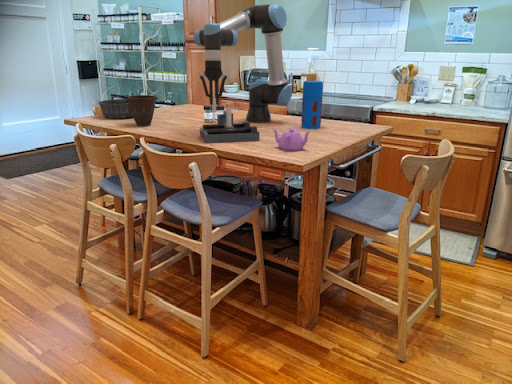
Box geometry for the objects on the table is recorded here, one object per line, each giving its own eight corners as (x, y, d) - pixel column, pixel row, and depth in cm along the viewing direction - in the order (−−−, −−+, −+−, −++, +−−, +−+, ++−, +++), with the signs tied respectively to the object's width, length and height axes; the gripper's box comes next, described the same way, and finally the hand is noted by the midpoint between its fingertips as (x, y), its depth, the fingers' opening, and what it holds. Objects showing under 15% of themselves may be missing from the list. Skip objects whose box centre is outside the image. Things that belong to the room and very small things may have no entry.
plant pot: (151, 122, 243) (149, 94, 238) (161, 126, 232) (159, 97, 226) (126, 124, 235) (123, 96, 230) (135, 128, 223) (133, 98, 218)
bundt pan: (90, 118, 254) (88, 102, 251) (119, 112, 277) (117, 97, 274) (125, 121, 245) (123, 104, 241) (152, 115, 268) (150, 99, 264)
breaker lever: (229, 128, 204) (229, 102, 200) (231, 130, 200) (231, 104, 195) (226, 128, 204) (225, 102, 200) (228, 130, 199) (227, 104, 195)
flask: (218, 131, 219) (218, 111, 215) (216, 130, 221) (215, 110, 217) (234, 130, 223) (233, 110, 219) (231, 129, 225) (231, 109, 222)
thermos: (322, 126, 236) (325, 81, 227) (317, 129, 226) (320, 82, 218) (304, 124, 240) (306, 80, 232) (298, 127, 231) (300, 81, 222)
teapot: (310, 150, 181) (311, 130, 178) (280, 152, 176) (281, 132, 174) (298, 144, 191) (299, 125, 188) (271, 146, 187) (271, 127, 184)
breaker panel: (250, 133, 215) (250, 121, 212) (259, 140, 198) (259, 127, 196) (200, 135, 208) (199, 123, 206) (205, 143, 192) (205, 129, 190)
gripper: (225, 59, 194) (226, 110, 202) (197, 59, 191) (199, 110, 199) (228, 60, 187) (229, 112, 195) (199, 60, 184) (201, 113, 192)
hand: (214, 111), depth 197 cm, fingers closed
